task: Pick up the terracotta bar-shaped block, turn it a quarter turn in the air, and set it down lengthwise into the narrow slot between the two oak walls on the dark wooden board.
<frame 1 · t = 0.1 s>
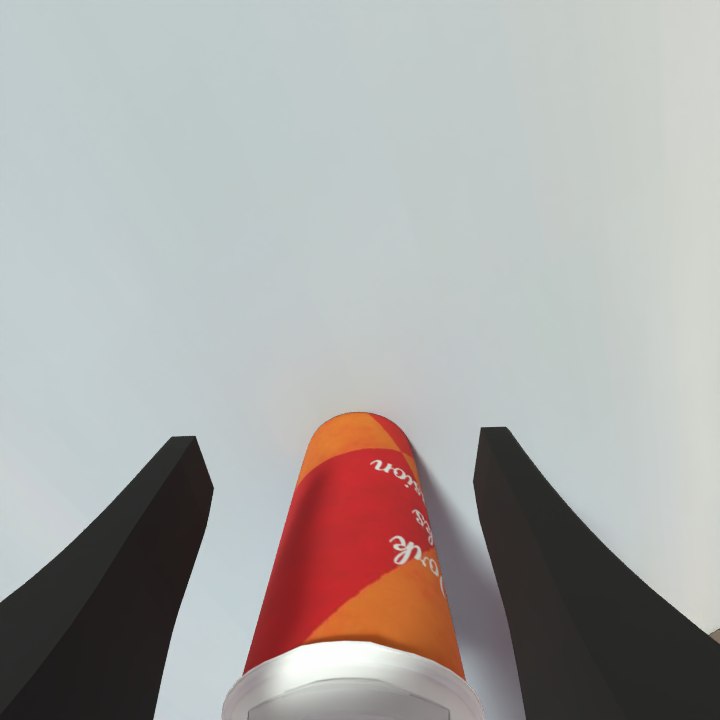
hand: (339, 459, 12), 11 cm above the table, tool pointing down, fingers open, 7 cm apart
paper cup: (359, 451, 25), on the table
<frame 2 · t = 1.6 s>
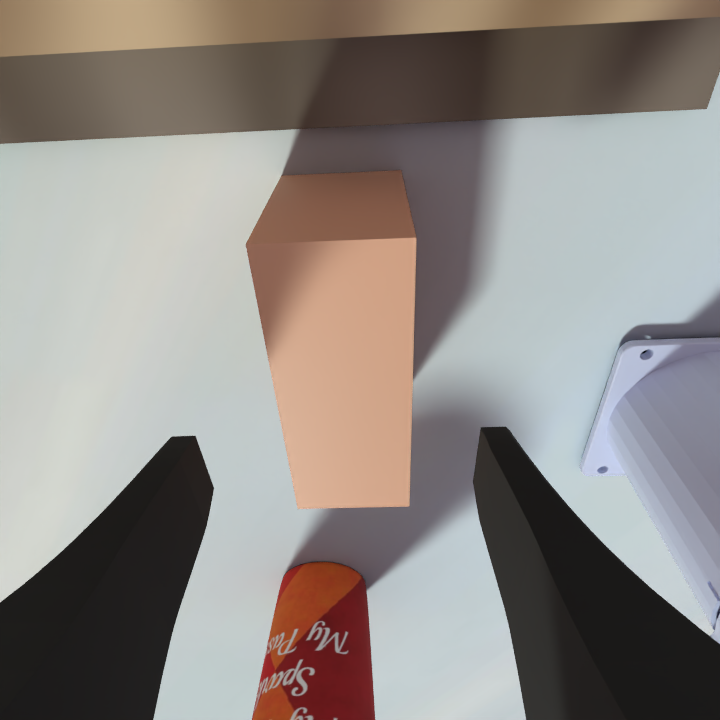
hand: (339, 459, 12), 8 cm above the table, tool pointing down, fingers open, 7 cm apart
block: (349, 302, 19), on the table
paper cup: (323, 582, 31), on the table
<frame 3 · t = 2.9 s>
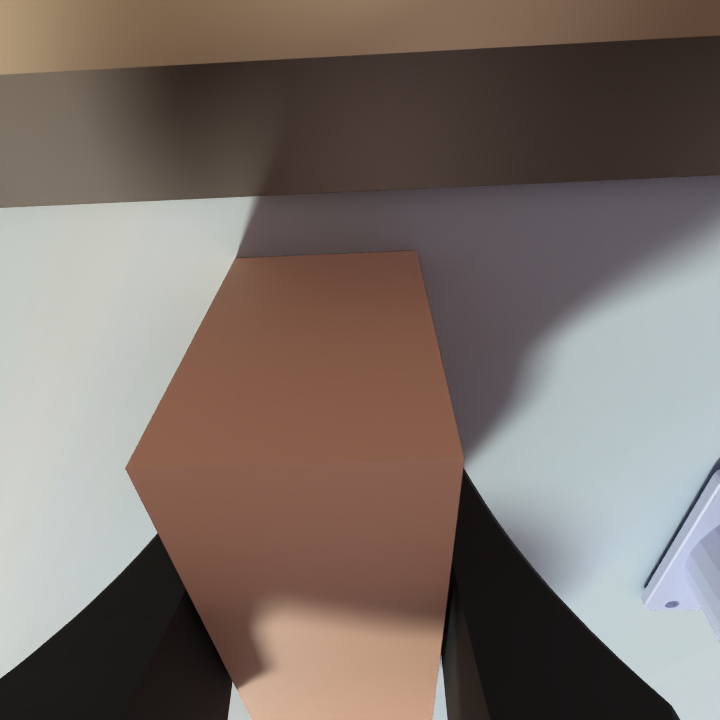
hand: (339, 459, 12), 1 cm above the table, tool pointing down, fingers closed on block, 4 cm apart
block: (341, 420, 13), on the table, touching gripper
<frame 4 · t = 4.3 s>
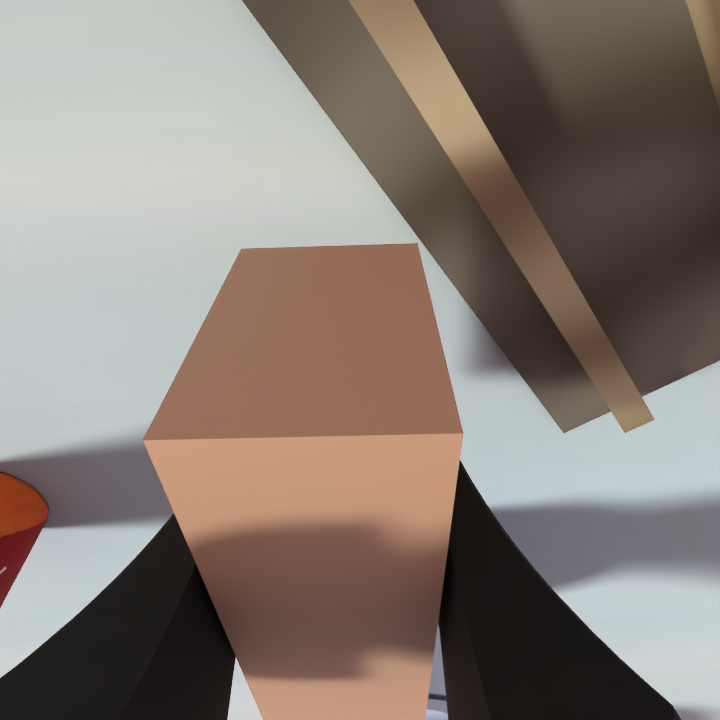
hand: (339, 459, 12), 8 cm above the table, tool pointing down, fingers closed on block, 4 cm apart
block: (341, 410, 14), point 7 cm above the table, touching gripper
arena: (591, 116, 15), on the table
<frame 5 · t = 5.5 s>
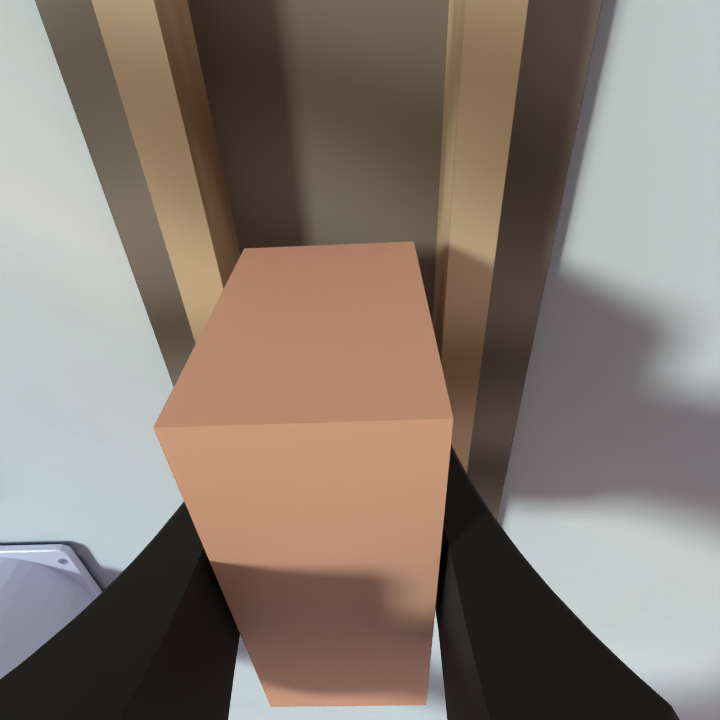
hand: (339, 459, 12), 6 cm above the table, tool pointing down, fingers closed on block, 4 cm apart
block: (342, 404, 14), point 4 cm above the table, touching gripper
arena: (345, 334, 17), on the table
when the fingers open (5 cm above the table, at t = 6.2 s): block drops 1 cm, resting on arena.
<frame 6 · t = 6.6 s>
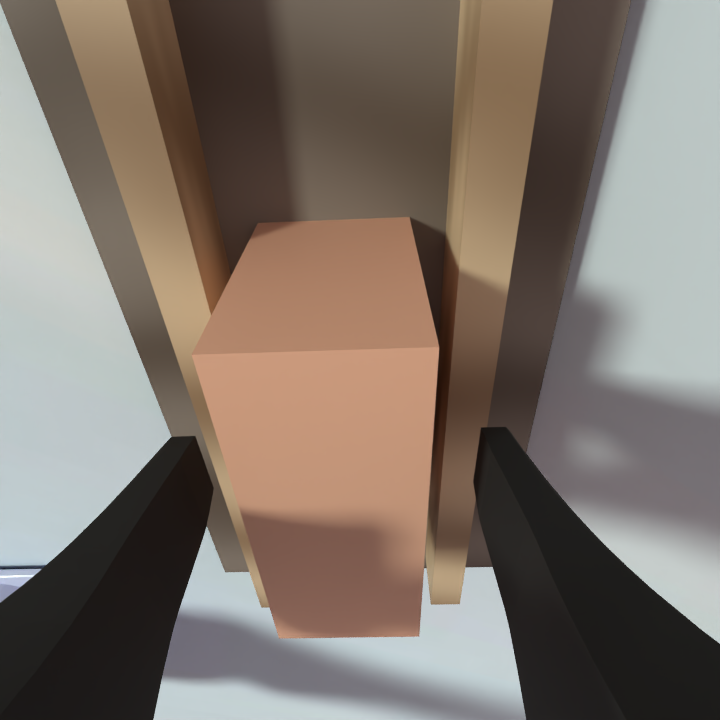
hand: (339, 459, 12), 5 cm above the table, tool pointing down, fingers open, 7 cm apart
block: (344, 370, 15), point 1 cm above the table, touching arena
arena: (345, 356, 16), on the table
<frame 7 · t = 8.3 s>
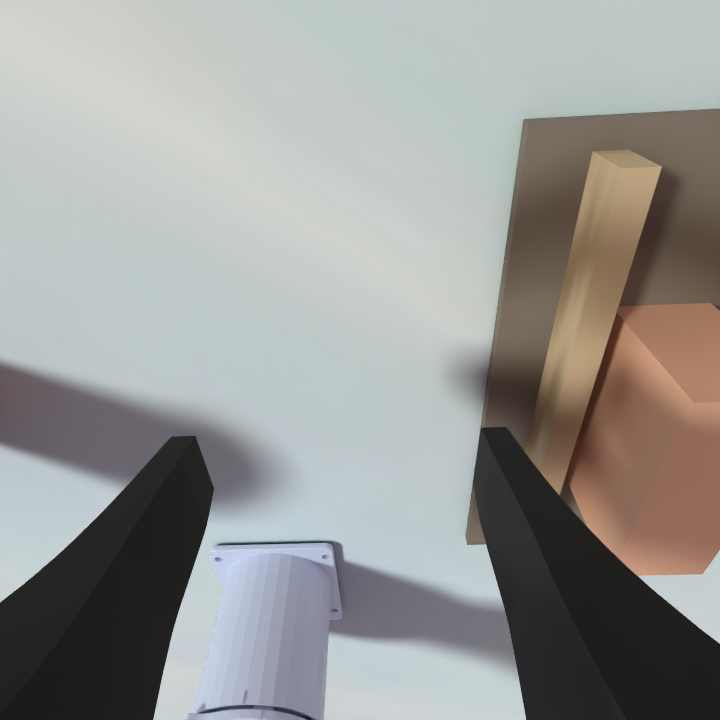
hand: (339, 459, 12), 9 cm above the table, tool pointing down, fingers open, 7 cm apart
block: (626, 397, 22), point 1 cm above the table, touching arena
arena: (621, 386, 23), on the table
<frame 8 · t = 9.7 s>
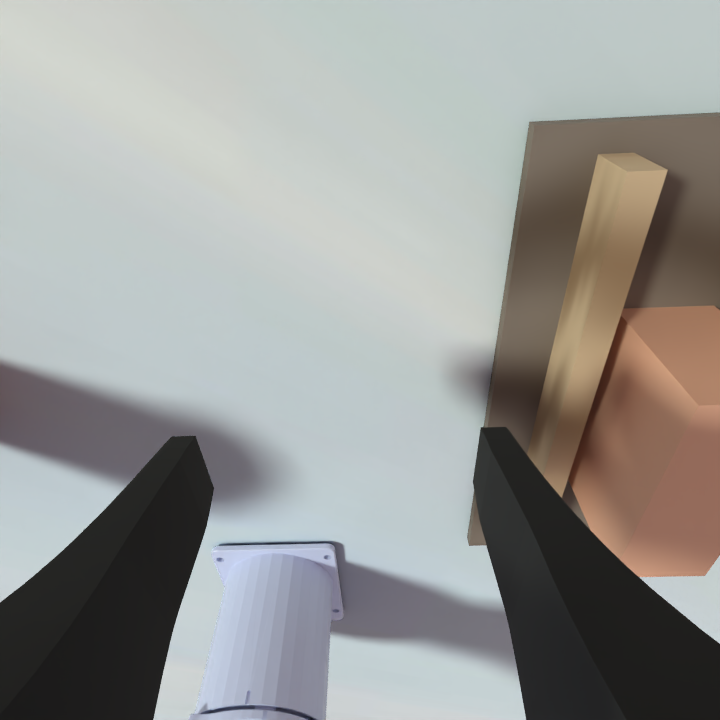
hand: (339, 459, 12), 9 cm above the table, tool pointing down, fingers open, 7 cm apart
block: (629, 398, 22), point 1 cm above the table, touching arena
arena: (624, 388, 23), on the table
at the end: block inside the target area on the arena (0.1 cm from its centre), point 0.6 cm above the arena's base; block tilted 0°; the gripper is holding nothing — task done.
